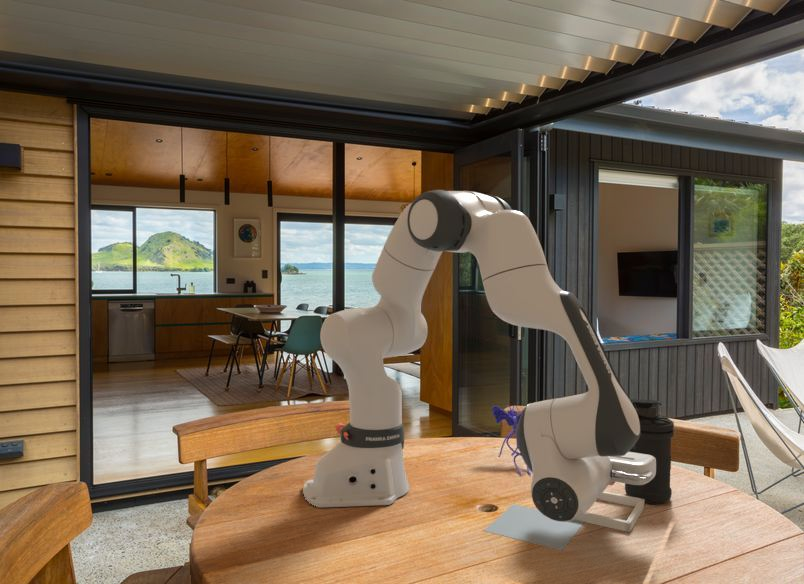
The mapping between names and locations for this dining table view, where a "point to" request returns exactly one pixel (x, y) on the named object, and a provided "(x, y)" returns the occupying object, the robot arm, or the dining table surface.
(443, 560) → the dining table surface
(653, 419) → the grenade
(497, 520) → the plate
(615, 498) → the box
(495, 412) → the squid
